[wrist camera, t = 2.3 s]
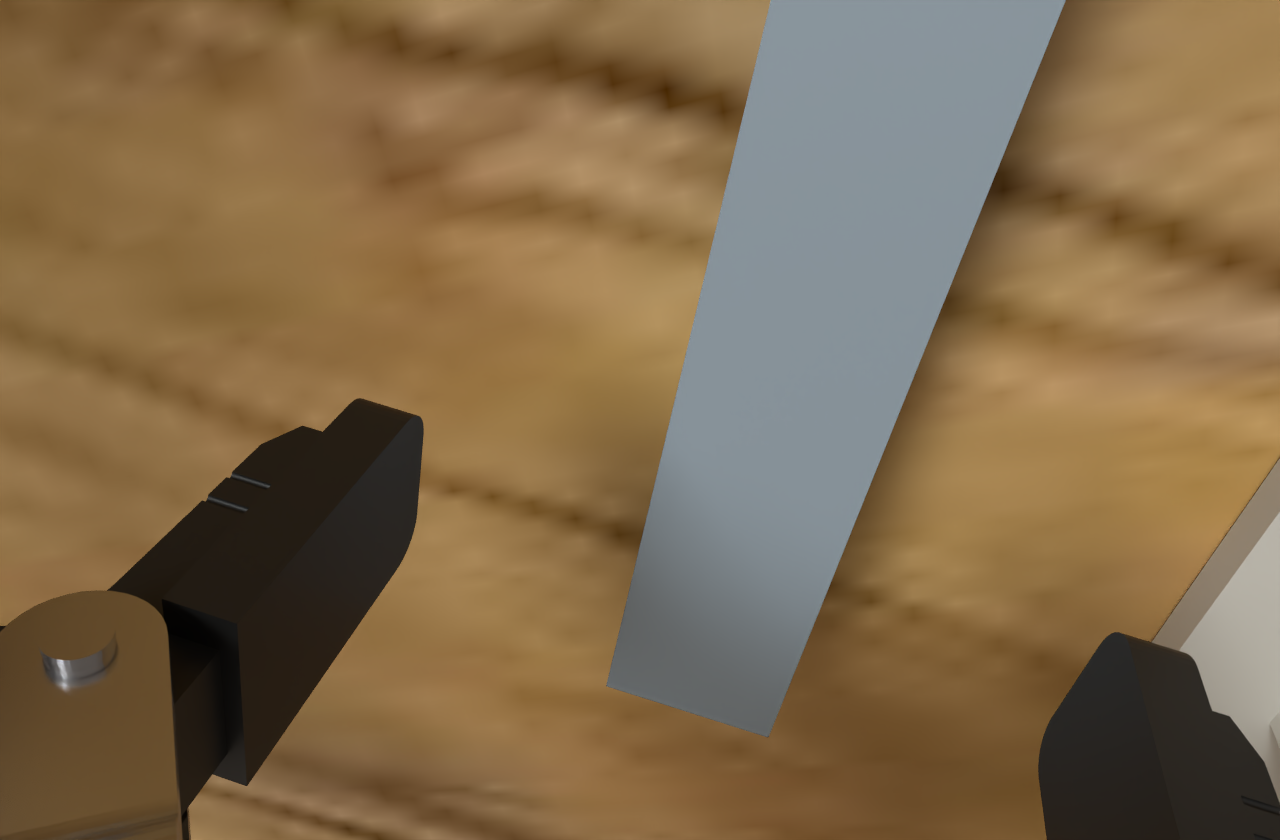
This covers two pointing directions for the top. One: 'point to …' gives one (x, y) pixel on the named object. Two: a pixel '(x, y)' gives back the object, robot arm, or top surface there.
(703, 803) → the top surface
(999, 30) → the rail
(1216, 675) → the stand
